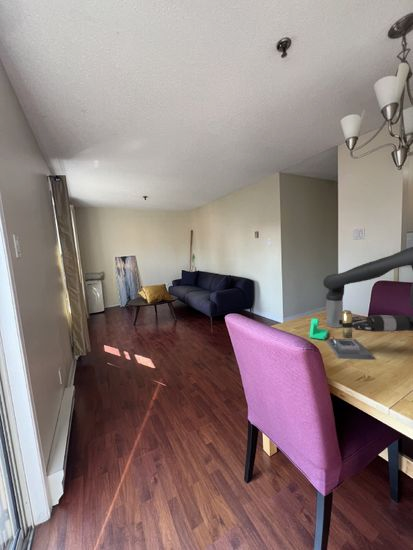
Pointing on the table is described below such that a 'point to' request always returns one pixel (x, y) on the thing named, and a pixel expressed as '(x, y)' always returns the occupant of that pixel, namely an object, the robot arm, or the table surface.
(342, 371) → the table surface
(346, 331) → the brass cylinder peg
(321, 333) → the camera mount
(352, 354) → the dock
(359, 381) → the table surface
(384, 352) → the table surface
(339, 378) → the table surface
